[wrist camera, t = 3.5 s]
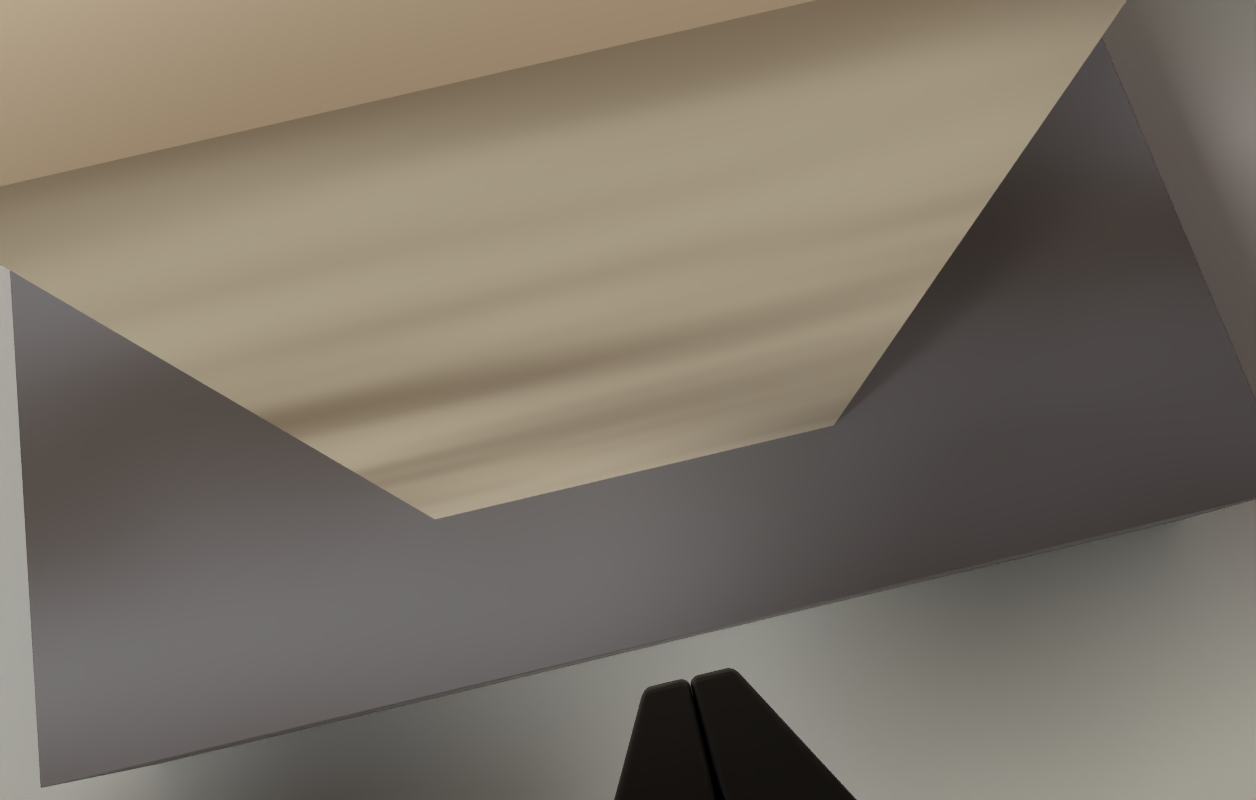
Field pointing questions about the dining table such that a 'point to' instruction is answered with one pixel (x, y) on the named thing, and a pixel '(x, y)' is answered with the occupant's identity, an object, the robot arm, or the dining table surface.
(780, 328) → the birch block
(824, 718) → the dining table surface
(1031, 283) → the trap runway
